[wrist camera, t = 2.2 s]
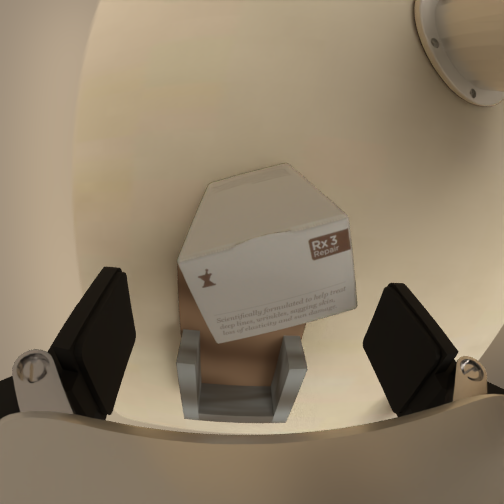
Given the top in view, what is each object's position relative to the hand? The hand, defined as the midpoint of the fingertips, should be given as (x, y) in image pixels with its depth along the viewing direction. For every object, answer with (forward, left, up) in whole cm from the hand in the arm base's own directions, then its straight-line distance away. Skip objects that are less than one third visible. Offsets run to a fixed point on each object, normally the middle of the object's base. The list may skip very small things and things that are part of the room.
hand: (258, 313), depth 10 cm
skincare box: (-1, +1, -13) cm, 13 cm away
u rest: (+13, +1, -13) cm, 18 cm away
